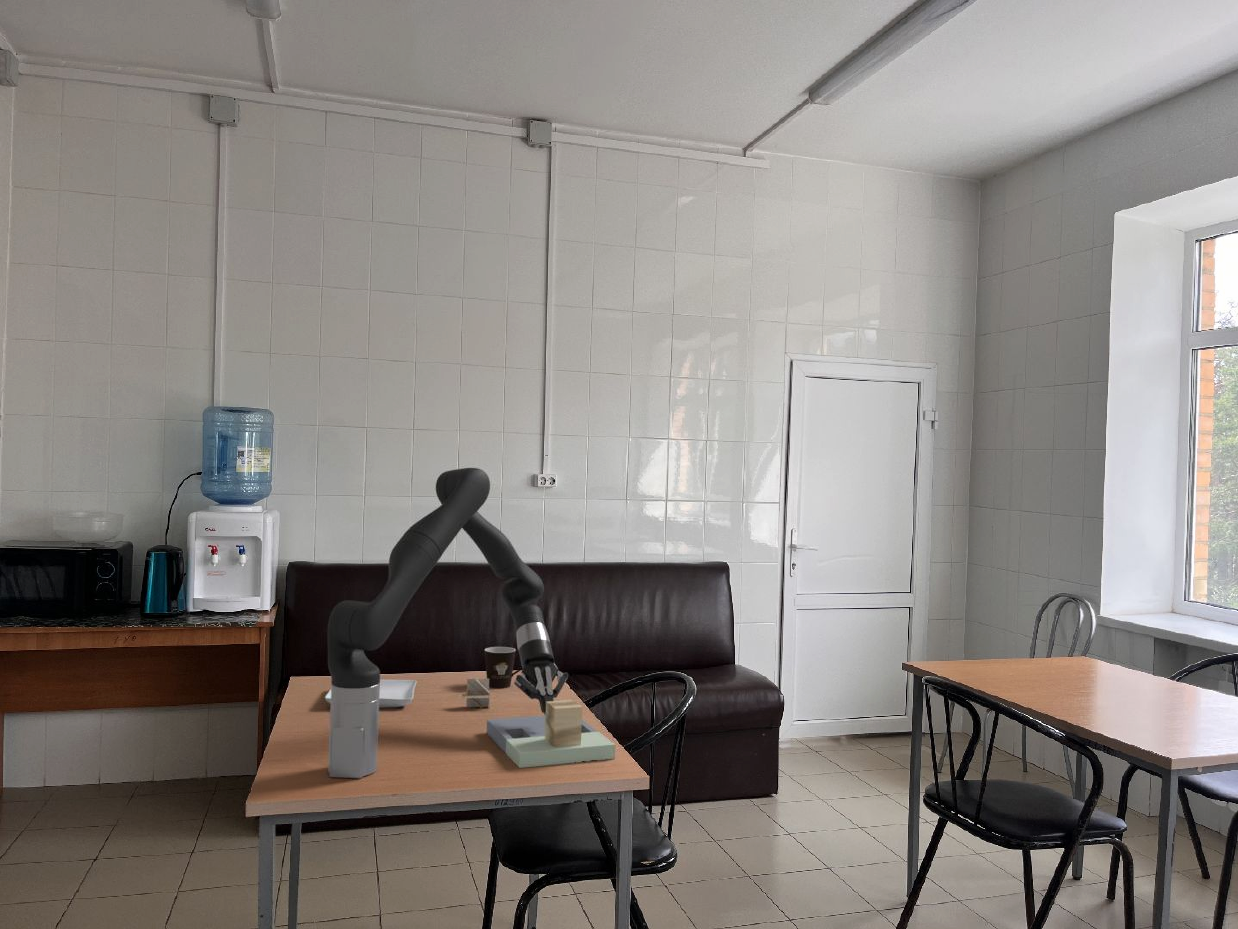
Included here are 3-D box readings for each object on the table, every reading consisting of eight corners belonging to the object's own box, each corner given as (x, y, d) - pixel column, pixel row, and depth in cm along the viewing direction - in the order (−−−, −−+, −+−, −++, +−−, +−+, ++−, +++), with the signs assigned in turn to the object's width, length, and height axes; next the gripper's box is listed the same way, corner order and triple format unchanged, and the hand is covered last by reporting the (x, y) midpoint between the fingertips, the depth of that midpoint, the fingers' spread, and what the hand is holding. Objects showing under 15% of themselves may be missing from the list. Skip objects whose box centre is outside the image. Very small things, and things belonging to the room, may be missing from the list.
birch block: (580, 744, 194) (582, 706, 194) (554, 747, 191) (555, 708, 191) (571, 736, 199) (572, 699, 199) (544, 739, 197) (546, 701, 197)
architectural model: (489, 711, 230) (490, 681, 230) (461, 711, 229) (462, 681, 229) (489, 708, 234) (490, 678, 234) (461, 708, 233) (462, 678, 233)
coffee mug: (479, 688, 253) (480, 651, 253) (488, 681, 261) (490, 646, 261) (520, 691, 251) (521, 654, 251) (528, 684, 259) (529, 648, 259)
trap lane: (615, 758, 195) (615, 744, 195) (519, 768, 186) (519, 753, 186) (573, 725, 219) (573, 713, 219) (486, 732, 210) (487, 719, 210)
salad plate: (416, 691, 249) (417, 678, 249) (412, 711, 228) (412, 697, 228) (335, 691, 245) (336, 678, 245) (323, 712, 224) (323, 698, 224)
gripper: (510, 638, 209) (524, 706, 198) (565, 636, 214) (582, 702, 203) (503, 657, 214) (516, 724, 203) (557, 654, 219) (573, 720, 208)
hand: (549, 713), depth 203 cm, fingers closed
